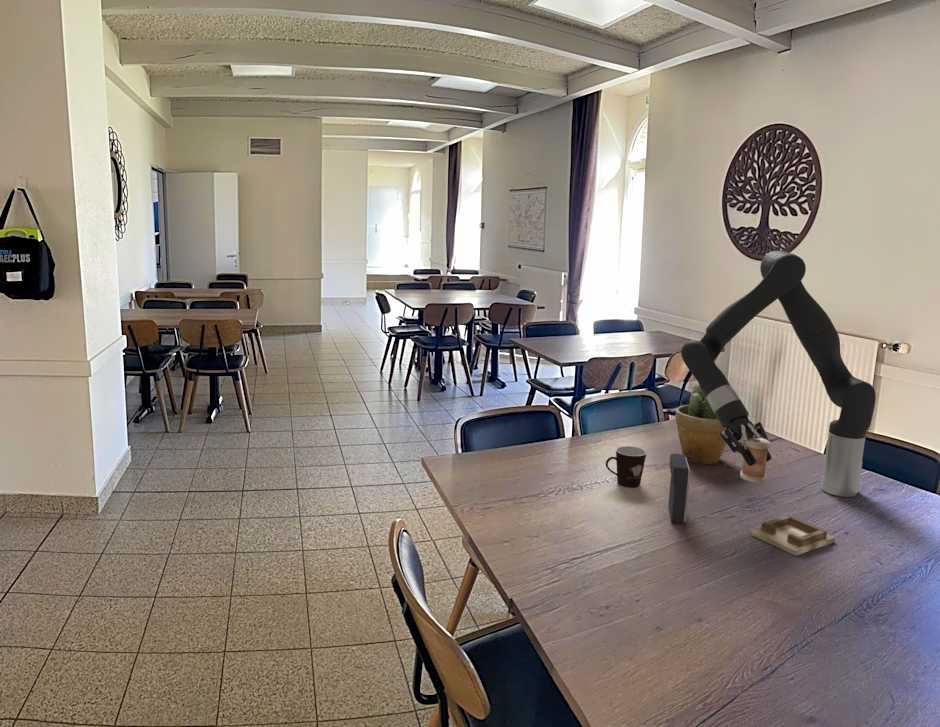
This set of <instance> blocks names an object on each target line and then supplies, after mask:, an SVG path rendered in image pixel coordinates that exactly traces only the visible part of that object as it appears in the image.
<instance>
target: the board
mask: <svg viewBox="0 0 940 727" xmlns="http://www.w3.org/2000/svg"><path fill="white" fill-rule="evenodd" d="M751 536H752V537H755V538H756V539H759V540H760V541H763V542H765V543H767V544H770V545H772V546H773V547H775V546H776V547H775V548H777V549H780V550H782V551H784V552H787V553H788V554H790V555H793V556H794V557H796V556H799V555H803V554H805V553H807V552H811V551H813V550H816V549H819V548H821V547H822V548H823V547H824V546H828V545H831V544H833V543H836V542H835V540H836V537H835V536H833V535H830V534H829V533H828V531H827V530H826V529H823V528H821V527H818V526H816V525H814V524H811V523H808V522H806V521H804V520H801V519H799V518H797V517H796V516H795V517H794V516H792V515H790V514H787V515H783V516H781V517H777V518H774V519H771V520H767V521H765V522H761V527H759V528H756V529H753V530H751Z"/></svg>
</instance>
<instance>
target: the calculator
mask: <svg viewBox="0 0 940 727" xmlns="http://www.w3.org/2000/svg"><path fill="white" fill-rule="evenodd" d="M669 458H670V459H669V470H670V482H669V484H670V485H669V496H668V505H667V506H668V511H669V518H670V522H671V524H677V525H684V523H686V522H687V513H688V502H689V494H690V485H689V483H690V482H689V481H690V472H691V471H690V470H691V469H690V466H689V463H688V462H689V461H688V460H687V459H686V457H685V455H683V454H678V453H671V454H670V457H669Z"/></svg>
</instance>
